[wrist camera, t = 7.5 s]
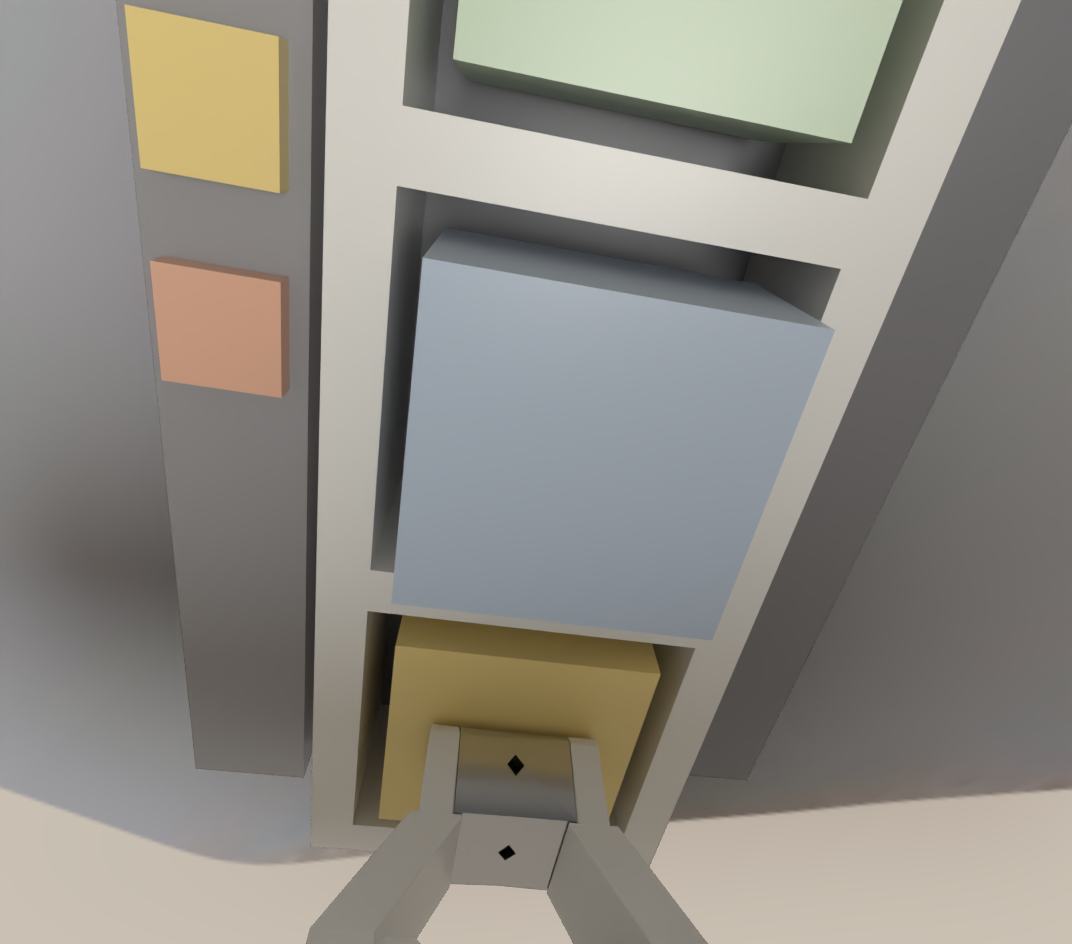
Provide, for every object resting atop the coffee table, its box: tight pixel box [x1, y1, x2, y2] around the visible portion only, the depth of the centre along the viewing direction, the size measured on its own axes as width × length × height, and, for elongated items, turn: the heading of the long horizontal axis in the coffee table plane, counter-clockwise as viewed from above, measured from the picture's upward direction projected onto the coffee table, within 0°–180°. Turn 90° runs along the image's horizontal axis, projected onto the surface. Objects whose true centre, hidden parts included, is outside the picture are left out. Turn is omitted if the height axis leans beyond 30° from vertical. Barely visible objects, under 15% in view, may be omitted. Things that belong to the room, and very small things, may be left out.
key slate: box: [391, 228, 835, 640], centre depth 9 cm, size 4×4×2 cm
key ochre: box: [379, 615, 661, 821], centre depth 12 cm, size 4×4×2 cm
